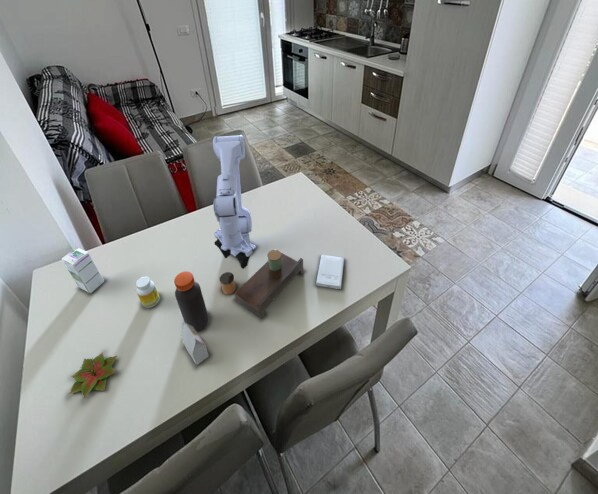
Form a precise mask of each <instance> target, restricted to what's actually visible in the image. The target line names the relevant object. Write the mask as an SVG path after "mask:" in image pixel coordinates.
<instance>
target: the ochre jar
mask: <svg viewBox="0 0 598 494" xmlns="http://www.w3.org/2000/svg"><path fill="white" fill-rule="evenodd" d="M219 282H220V286H221V290H222V293H223V294H225V295H231V294H234V293H235V292H236V290H237V289H236V288H237V286H236V280H235V274H234V273H232V272H230V271H226V272H224V273H222V274H221V275H220V277H219Z"/></svg>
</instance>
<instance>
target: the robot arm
mask: <svg viewBox="0 0 598 494" xmlns="http://www.w3.org/2000/svg"><path fill="white" fill-rule="evenodd" d="M212 148H213V153H214V155H215V156H216V158H217V160H219V161H220V174H219V175H218V176H217V179H216V194H215V195H216V197H215V198H213V204H212V205H213V212H214V213H213V214H214V216H215V218H216V221H217V222H218V225H219V229H217V230H216V231H214V232H213V235H214V238H215V239H216V240H215V241H214V242H213V243H214V245H215V246H216V247H217V249H219V251H220V253H221V255H222V256H223V257H224V258H225V259H227V258H228V257H230V256H231V255H232V256H234V257H235V258H236V259H237V260H238V262H239V266H240V268H241V269H242V270H244V269H246V268H247V267H248V265H249V260H250V257H251V255H253V252H254V250H255V249H256V248H257V246H256V245H255V244H253V243H252V242H251V238H250V233H251V232H252V231H253V221H252V215H251V211H250V210H249V209H248V208H246V207H245V206H243V200H242V187H241V175H240V174H241V173H240V162H241V160H243V159H245V156H246V149H245V148H246V145H245V137H244V135H243V134H240V135H224V136H217V135H216V136H215V135H214V137H213V139H212Z"/></svg>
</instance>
